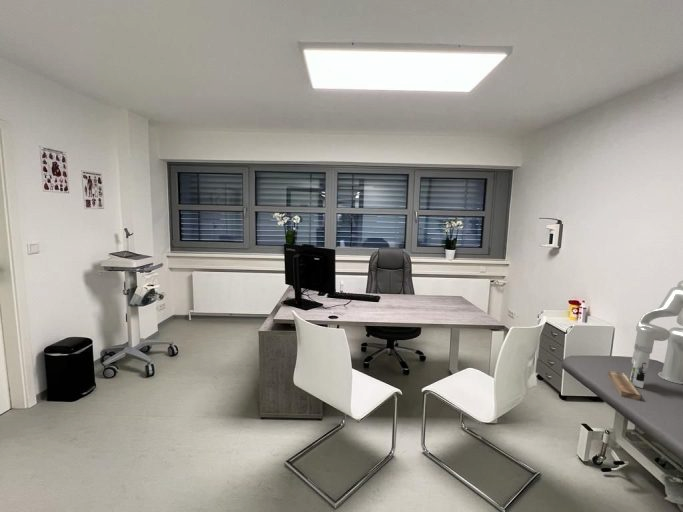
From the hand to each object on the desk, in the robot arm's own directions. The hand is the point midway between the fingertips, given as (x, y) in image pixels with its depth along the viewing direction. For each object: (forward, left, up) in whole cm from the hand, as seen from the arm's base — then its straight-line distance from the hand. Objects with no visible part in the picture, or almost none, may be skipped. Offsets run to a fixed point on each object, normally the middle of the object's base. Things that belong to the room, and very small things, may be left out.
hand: (637, 377), depth 192 cm
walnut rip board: (+8, +6, -5) cm, 11 cm away
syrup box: (0, 0, -5) cm, 5 cm away
